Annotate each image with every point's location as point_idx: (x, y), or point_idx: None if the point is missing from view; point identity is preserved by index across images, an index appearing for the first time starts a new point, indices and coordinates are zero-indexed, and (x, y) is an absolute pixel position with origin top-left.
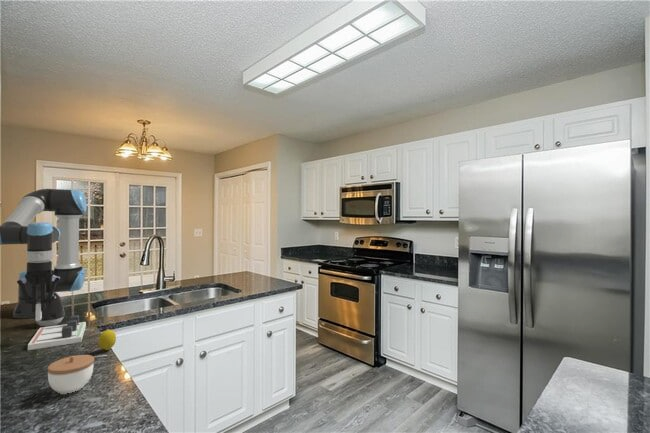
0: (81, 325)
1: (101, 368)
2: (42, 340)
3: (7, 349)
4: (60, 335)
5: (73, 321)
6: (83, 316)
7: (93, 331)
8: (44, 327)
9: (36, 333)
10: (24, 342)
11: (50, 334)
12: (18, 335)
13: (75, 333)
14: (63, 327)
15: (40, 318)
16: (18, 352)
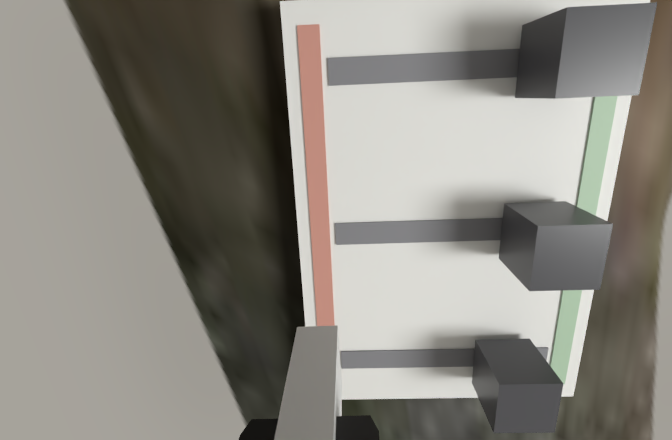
0: (602, 114)
1: None
2: (371, 365)
3: (208, 316)
4: (459, 310)
5: (578, 269)
6: None
7: (648, 192)
8: (315, 13)
9: (297, 184)
10: (254, 230)
11: (395, 257)
12: (152, 22)
13: (546, 311)
14: (502, 404)
15: (341, 396)
16: (279, 386)
